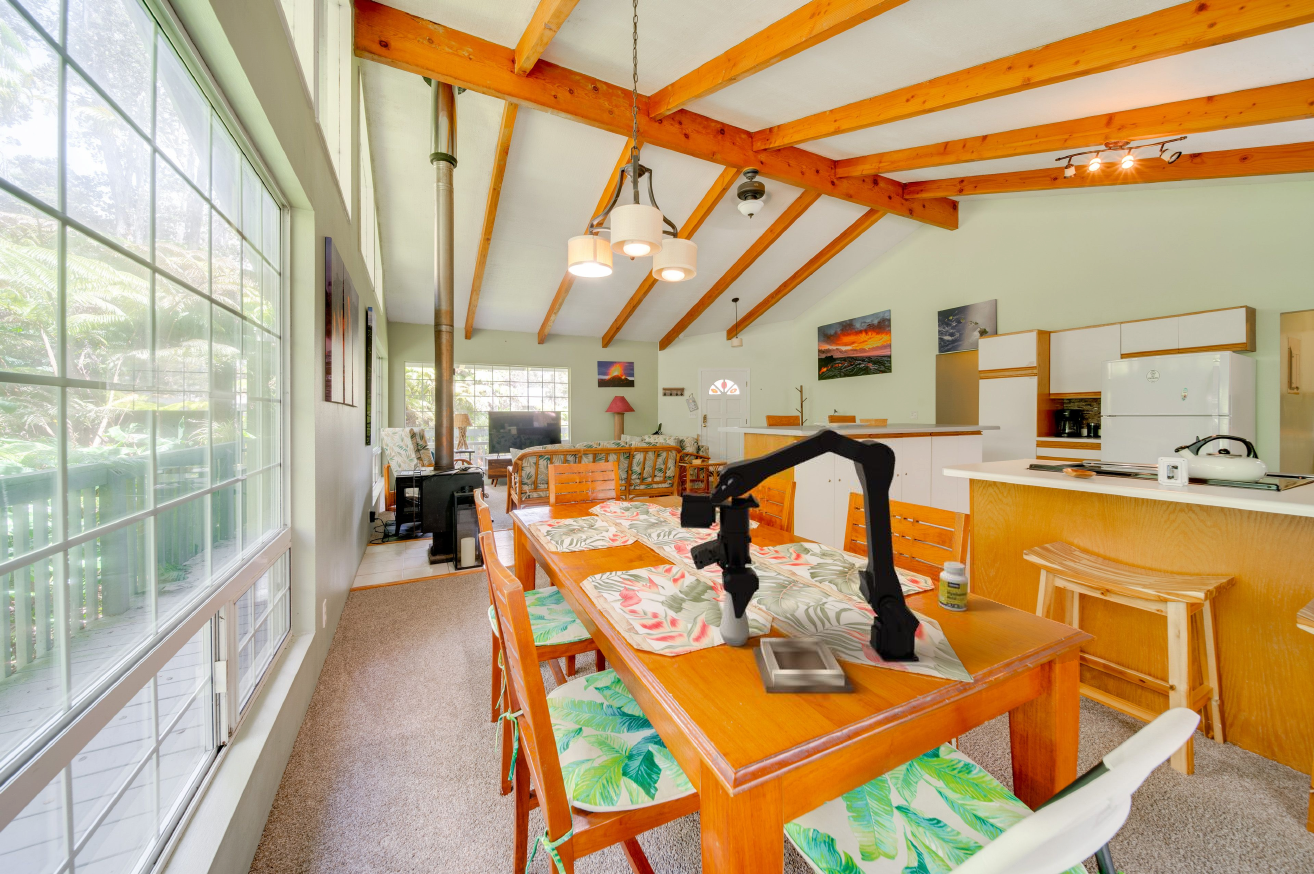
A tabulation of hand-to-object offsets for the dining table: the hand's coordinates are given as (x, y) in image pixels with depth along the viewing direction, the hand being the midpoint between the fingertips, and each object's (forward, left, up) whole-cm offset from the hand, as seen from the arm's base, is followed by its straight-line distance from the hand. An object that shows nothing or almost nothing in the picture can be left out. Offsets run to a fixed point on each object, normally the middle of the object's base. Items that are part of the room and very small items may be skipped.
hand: (734, 606), depth 92 cm
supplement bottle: (-51, -15, -7) cm, 54 cm away
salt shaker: (0, 0, -7) cm, 7 cm away
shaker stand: (-10, +10, -7) cm, 16 cm away
